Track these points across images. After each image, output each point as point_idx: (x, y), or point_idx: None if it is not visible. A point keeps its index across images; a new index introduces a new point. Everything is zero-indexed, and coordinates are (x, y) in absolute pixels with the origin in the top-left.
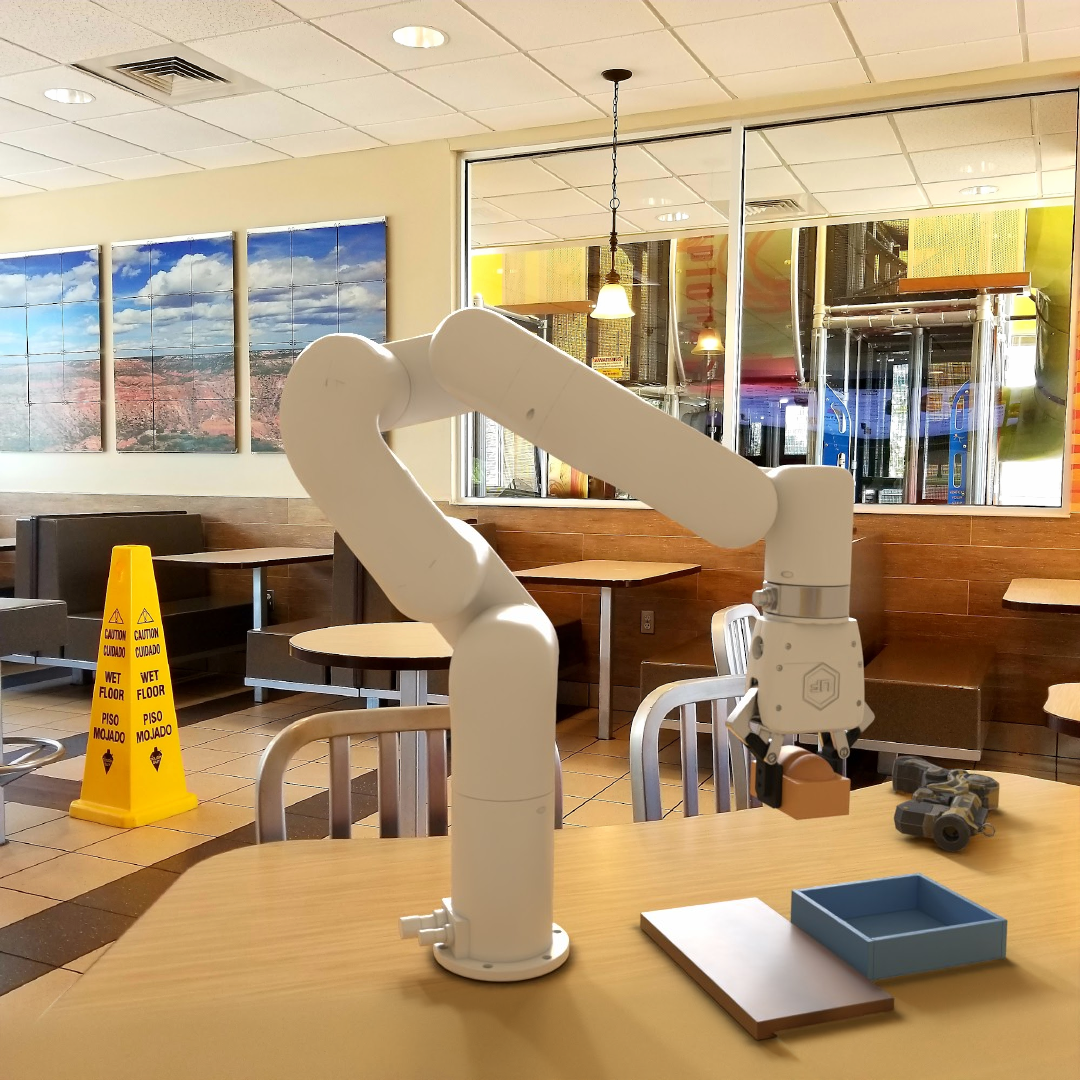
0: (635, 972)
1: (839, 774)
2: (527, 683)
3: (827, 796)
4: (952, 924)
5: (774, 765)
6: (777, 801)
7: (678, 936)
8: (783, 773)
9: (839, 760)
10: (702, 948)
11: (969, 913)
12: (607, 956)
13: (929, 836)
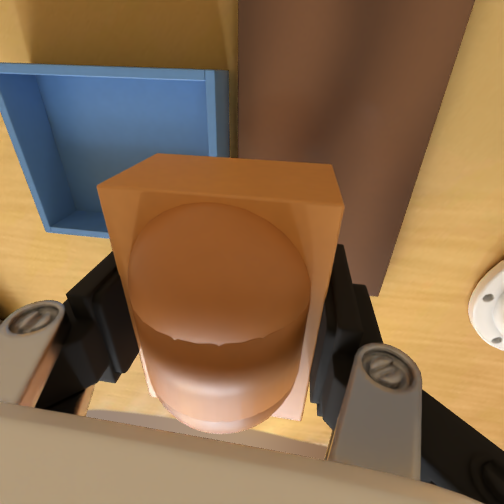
0: (457, 207)
1: (105, 264)
2: None
3: (214, 173)
4: (55, 155)
5: (359, 341)
6: (338, 251)
7: (382, 237)
8: (307, 314)
9: (76, 295)
10: (380, 201)
11: (26, 130)
12: (455, 249)
13: (1, 322)
